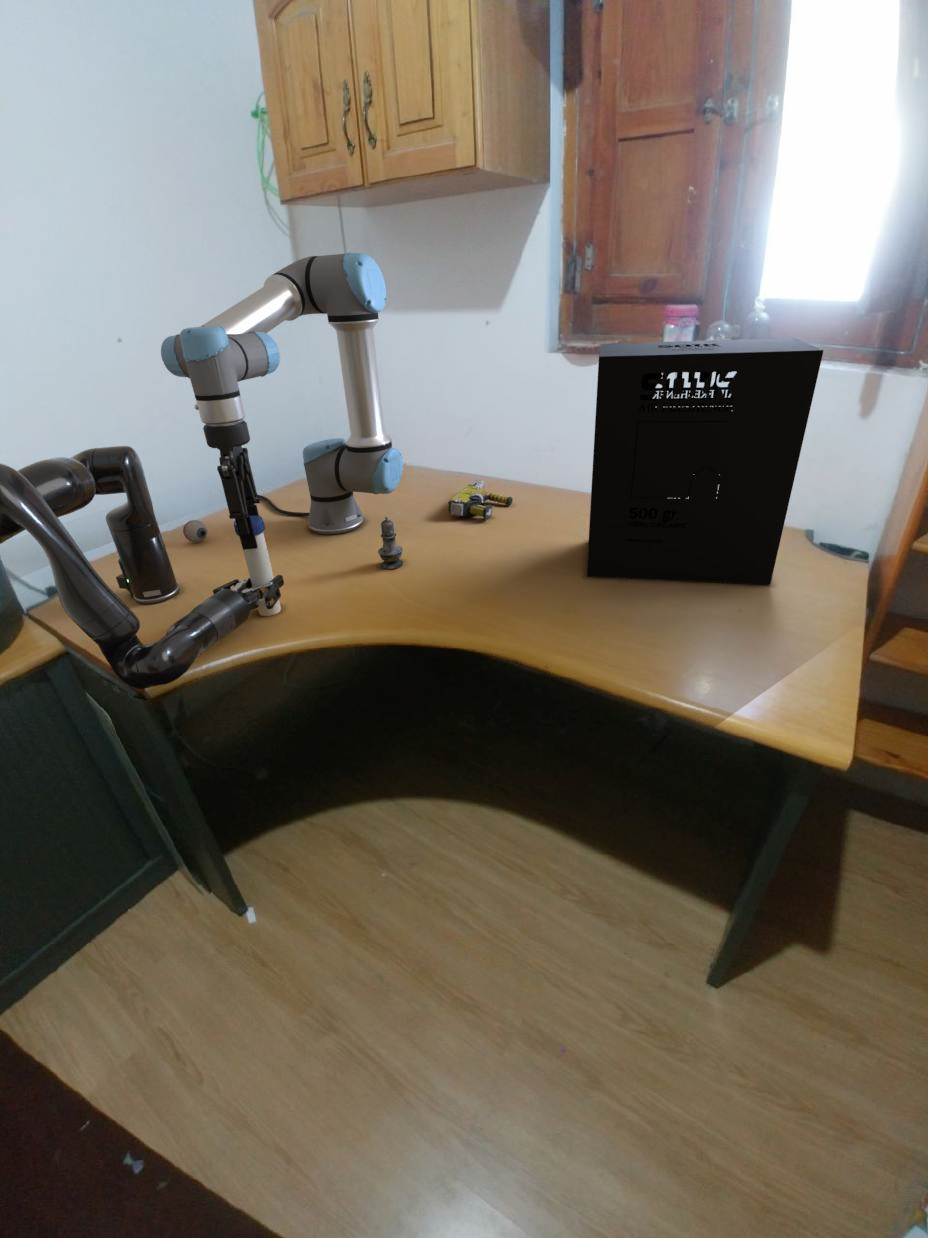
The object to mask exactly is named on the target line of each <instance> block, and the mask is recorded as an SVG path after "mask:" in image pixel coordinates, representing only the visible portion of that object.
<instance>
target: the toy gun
mask: <svg viewBox="0 0 928 1238" xmlns="http://www.w3.org/2000/svg"><path fill="white" fill-rule="evenodd" d="M485 485H486V483H485V480H480V481H479V479H475V480H474V481H472V483H470V484H467V486H465V487H464V488H463V489H462V490H461V491H459V492H458V493H456V494H455V495H454V496H453V497H452V498H451V499H450V500H448V502H447V513H448V514H449V515H451V516H452V517H456V518H458V517H467V516H472V515H473V516H479V517H482V520H484V521H486V520H487V519H489V518H491V517H492V516H493V515H492V514H493V505H492V504H488V505H486V503H485V502H486V501H488V500H489V501H490V502H494V503H496V502H497V503H499V504H504V505H507V506H508V507H509V506H512V505H513V502H514V501H513V500H514V498H513V497H512V496H508V495H507V496H506V495H502V494H498V493H494V492H490V493H489V494H487V492H486V490H485V488H483V487H484V486H485Z"/></svg>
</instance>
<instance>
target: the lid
mask: <svg viewBox="0 0 928 1238" xmlns="http://www.w3.org/2000/svg"><path fill="white" fill-rule="evenodd" d="M250 517H251V521H252V525H253V529H254V533H255V535H258V534H260V533H262V532H263V533H265V531H266V526H265V522H264V519H263V516H261V515H259V516H250ZM233 528H234V531H235V535H237V537H240V536H239V533H238V529H237V525H236V521H235V520H234V521H233Z"/></svg>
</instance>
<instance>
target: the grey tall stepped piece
mask: <svg viewBox="0 0 928 1238" xmlns="http://www.w3.org/2000/svg"><path fill="white" fill-rule="evenodd" d="M380 527H381V535H380V538H382V546H381V547H380V548H379V549H378V550H377V554H379V557H380V559H381V560H383V561H382V562H381V563H380V566H381V568H383V569H387V570H391V569H397V568H400V567H402V566H403V565H404V561H403V560H402V559H401V557H402V555H403V551H404V549H403V547H402V546H400V545H398V544H397V541H396V540H397V539H396V536H397V533H396V532H395V525H394V521H393V520H391V519H389V517H388V516H385V517H384V520H382V521H381V523H380Z"/></svg>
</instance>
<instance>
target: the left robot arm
mask: <svg viewBox="0 0 928 1238" xmlns="http://www.w3.org/2000/svg"><path fill="white" fill-rule="evenodd" d="M116 494H126V502H125V503H123V504H121V505H118V506H117V507H115V508H112V509H111V510H110V511H108V512H107V513H106V514H105V522H106V525H107V527H108V530H109V532H110V536H111V538H112V540H113V543H114V547H115V549H116V551H117V554H118V557H119V558H118V559H117V562H118V565H119V567H120V570H121V574H119V575H117V576H115V579H116V581H117V584H118V587H119V589H124V590H126V591H127V592H128V593H129V595H130V598H131V599H133V600H134V601H135V602H136V603H137V604H141V605H152V604H157V603H161V602H162V603H163V602H164V601H167V600H170V599H172V598H173V597H175V596H176V595H178V593H179V592H180V587H179V584H178V582H177V579H176V576H175V572H174V569H173V567H172V563H171V561H170V557H169V555H168V551H167V548H166V545H165V543H164V539H163V536H162V533H161V529H160V527H159V523H158V521H157V516H156V513H155V509H154V506H153V501H152V497H151V494H150V490H149V487H148V482H147V479H146V475H145V472H144V467H143V464H142V461H141V458H140V456H139V454H138V453H137V451H136V450H135V448H133V447H132V446H129V445H116V446H104V447H92V448H87V449H85V450H83V451H79V452H78V453H76V454H74V455H72V456H71V457H68V456H67V457H65V456H60V457H52V458H48V459H43V460H38V461H36V462H33V463H30V464H28V465H25V466H24V467H22V468H20V469H18V470H17V469H15V468H14V467H11V466H10V465H7V464H4V463H1V462H0V545H1V544H3V543H4V542H6V541H8V540H10V539H12V538H13V537H15V536H17V535H19V534H21V533H22V532H24V531H27V532H28V533H29V535H31V536H32V537H33V538H34V540H36V541H37V543H38V544H39V545H40V548H41V549H42V550H43V552H44V553H45V556H46V557H47V560H48V562H49V565H50V568H51V572H52V575H53V579H54V584H55V589H56V593H57V597H58V600H59V602H60V604H61V607H62V609H63V611H64V612H65V613H66V615H67V616H68V617H69V618H70V620H71V621H72V622H73V623H74V624H75V625H77V627H78V628H80V630H81V631H83V633H85V634H86V635H87V636H88V637H89V638H90V640H91V641H92V642H94V643H95V644H96V645H97V646H98V648H99V649H100V651H101V653H102V655H103V657H104V658H105V660H106V661H107V663H108V665H109V666H110V668H111V669H112V671H113V672H114V674H115V675H116V676H117V678H119V680H120V681H122V682H123V683H125V684H126V685H127V686H129V687H131V688H134V689H139V690H145V689H151V688H154V687H158V686H163V685H164V686H165V685H168V684H170V683H173V682H174V681H176V680H178V679H180V677H182V676H183V675H185V674H186V672H188V670H189V669H190V668H191V667H192V666H193V665H194V663H195V662H196V661H197V659H198V658H199V656H201V655H202V654H204V653H205V652H207V650H209V649H210V648H211V647H213V646H214V645H215V644H217V643H219V642H220V641H222V640H224V639H225V638H226V637H228V636H229V635H230V634H231V633H233V632H234V631H235V630H236V629H238V628H239V627H241V625H243V624H244V623H245V622H247V621H248V619H249V616H250V614H251V612H252V611H254V610H257V609H258V607H259V606H266V607H267V609H272V608H273V607H274V605H275V604H276V603H277V601H278V600H279V601H280V599H281V597H282V594H281V590H280V589H281V588H282V587H283V586H284V585H285V582H284V580H285V579H284V578H283V575H282V574H277V575H276V576H275V577H274V578H273V579H272V580H271V581H269V582H268V583H266V584H264V585H256V586H254V587H252V583H251V579H250V577H248V578H244V579H243V578H242V579H241V580H239V579H237V578H236V579H233V580H231V581H229V582H226V583H225V584H222V585H220V586H218V587H216V588H214V589H212V592H213V594H212V595H211V596H210V597H208V598H207V599H205V600H203V601H202V602H201V603H199V604H198V605H196V606H195V607H194V608H193V609H192V610H190V612H189V613H187V614H186V615H184V616H183V617H181V618H180V619H178V620H177V621H176V622H174V623H173V624H172V625H171V626H169V628H168V629H167V631H166V632H165V635H164V636H163V637H161V638H160V639H158V640H156V641H154V642H152V643H148V644H144V643H143V642H142V640H140V638H139V636H138V635H137V634H138V632H139V631H140V627H141V622H140V619H139V618H138V616H137V615H136V614H135V613H134V612H133V611H132V610H131V608H129V606H127V604H126V603H125V602H123V600H122V599H121V598H120V597H119V596H118V595H117V594H116V593H115V591H113V589H111V587H110V586H108V584H107V583H106V582H105V581H104V579H103V578H102V577H101V576H100V574H98V572H97V571H96V570H95V568H94V567H93V566H92V564H91V563H90V562H89V560H88V559H87V557H86V556H85V554H84V553H83V551H82V550H81V548H80V547H79V545H78V544H77V543H76V541H75V539H73V537H72V535H71V534H70V533H69V531H68V530H67V528H66V527H65V526H64V524H63V523H62V522H61V520H60V519H59V518H60V517H63V516H67V515H70V514H73V513H74V512H77V511H79V510H81V509H83V508H85V507H86V506H88V505H89V504H90V503H91V502H92V501H93V499H94V498H95V496H105V495H116ZM267 588H268V592H267V593H266V592H265V589H267ZM258 591H259V593H258ZM259 595H260V597H259Z"/></svg>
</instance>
